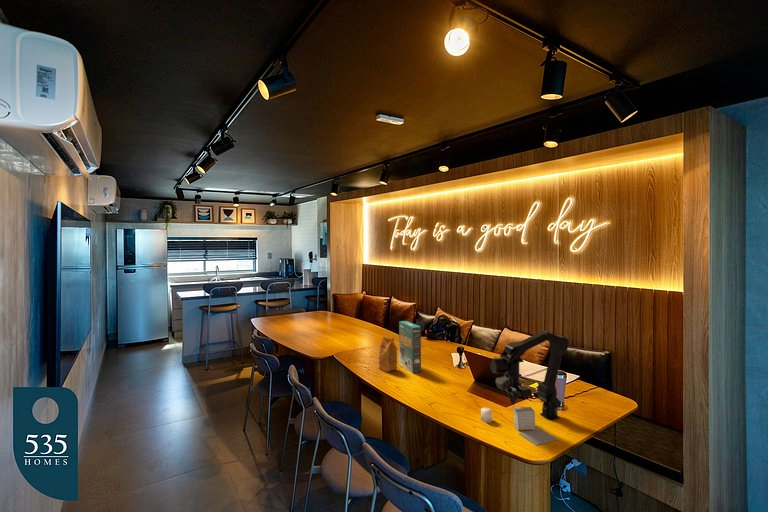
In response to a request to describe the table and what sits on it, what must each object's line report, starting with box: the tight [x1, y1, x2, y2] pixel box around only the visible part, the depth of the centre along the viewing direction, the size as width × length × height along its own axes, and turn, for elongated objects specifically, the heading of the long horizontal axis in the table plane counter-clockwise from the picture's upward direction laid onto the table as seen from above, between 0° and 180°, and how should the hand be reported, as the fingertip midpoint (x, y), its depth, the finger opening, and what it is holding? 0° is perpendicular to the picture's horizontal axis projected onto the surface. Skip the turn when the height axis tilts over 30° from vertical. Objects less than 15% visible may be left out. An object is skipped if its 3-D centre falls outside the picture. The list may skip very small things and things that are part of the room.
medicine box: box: [513, 406, 536, 431], centre depth 165 cm, size 8×4×9 cm, turn 92°
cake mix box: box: [398, 320, 422, 374], centre depth 250 cm, size 22×6×30 cm, turn 22°
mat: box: [518, 428, 559, 446], centre depth 157 cm, size 12×10×1 cm
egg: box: [480, 407, 493, 424], centre depth 173 cm, size 5×5×5 cm
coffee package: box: [378, 335, 398, 373], centre depth 247 cm, size 10×12×22 cm
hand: (512, 404), depth 172 cm, fingers closed
